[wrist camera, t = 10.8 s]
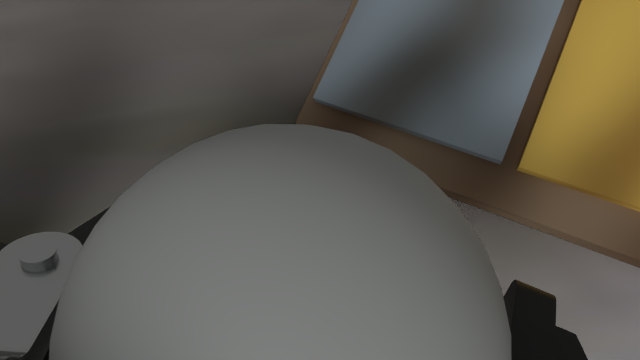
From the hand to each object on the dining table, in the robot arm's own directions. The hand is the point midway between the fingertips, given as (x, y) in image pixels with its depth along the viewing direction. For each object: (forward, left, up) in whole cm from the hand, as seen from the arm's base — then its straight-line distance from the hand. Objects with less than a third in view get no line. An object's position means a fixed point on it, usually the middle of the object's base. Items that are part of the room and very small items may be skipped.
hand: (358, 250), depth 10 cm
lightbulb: (0, -2, -5) cm, 5 cm away
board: (+3, +9, -8) cm, 13 cm away
